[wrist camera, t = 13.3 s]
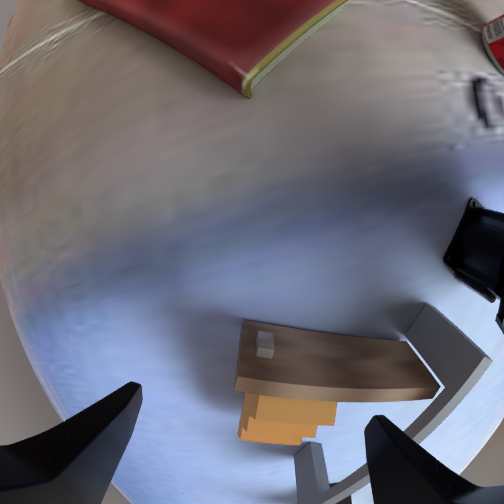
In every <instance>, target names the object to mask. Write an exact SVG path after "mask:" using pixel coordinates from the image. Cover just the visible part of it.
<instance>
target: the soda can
mask: <svg viewBox="0 0 504 504" xmlns="http://www.w3.org/2000/svg"><path fill="white" fill-rule="evenodd" d="M482 40H483V44H484V46H485V49H486V51H487V53H488V55H489V57H490V58H491V60H492V62H493V63H494V64H495V66H496V67H497V68H498V69H499V70H500V71H501V72H502V73H503V74H504V14H503V15H501V16H499V17H497V18H495V19H494V20H492V21H490V22H488V23H486V24H485V25H484V26H483V28H482Z"/></svg>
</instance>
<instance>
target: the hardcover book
mask: <svg viewBox="0 0 504 504" xmlns="http://www.w3.org/2000/svg"><path fill="white" fill-rule="evenodd" d="M78 1H79V2H82V3H84V4H87V5H89V6H92V7H94V8H96V9H99V10H101V11H103V12H106V13H108V14H110V15H112V16H114V17H117V18H119V19H121V20H123V21H125V22H127V23H129V24H131V25H133V26H135V27H137V28H139V29H141V30H143V31H145V32H146V33H148V34H150V35H152V36H154V37H156V38H157V39H159V40H161V41H163V42H164V43H166V44H168V45H170V46H171V47H173V48H175V49H176V50H178V51H180V52H181V53H183V54H185V55H186V56H188V57H189V58H191V59H193V60H194V61H196V62H197V63H199V64H200V65H202V66H203V67H205V68H206V69H208V70H209V71H211V72H212V73H214V74H215V75H217V76H218V77H220V78H221V79H222V80H224V81H225V82H227V83H228V84H229V85H231V86H232V87H234V88H235V89H236V90H238V91H239V92H240V93H242V94H243V95H244V96H246V97H247V98H248V99H250V97H251V96H252V94H251V91H250V90H251V89H252V88H253V87H254V86H255V85H256V84H257V83H258V82H259V81H260V80H261V79H262V78H263V77H264V76H265V75H266V74H267V73H268V72H269V71H270V70H271V69H272V68H273V67H274V66H276V65H277V64H278V63H279V62H280V61H281V60H282V59H283V58H284V57H285V56H287V55H288V54H289V53H290V52H291V51H292V50H293V49H294V48H296V47H297V46H298V45H299V44H300V43H301V42H303V41H304V40H305V39H306V38H307V37H309V36H310V35H311V34H312V33H313V32H315V31H316V30H317V29H318V28H320V27H321V26H322V25H323V24H325V23H326V22H327V21H328V20H330V19H331V18H332V17H334V16H335V15H336V14H338V13H339V12H340V11H342V9H343V7H344V5H345V3H346V1H348V0H78Z"/></svg>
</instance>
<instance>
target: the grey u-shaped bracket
mask: <svg viewBox="0 0 504 504" xmlns="http://www.w3.org/2000/svg"><path fill="white" fill-rule="evenodd" d="M405 336H406V338H407V339H408V340H409V341H410V343H411V344H412V345H413V346H414V348H415V349H416V350H417V351H418V353H419V354H420V355H421V356H422V358H423V359H424V360H425V361H426V363H427V364H428V365H429V367H430V368H431V369H432V371H433V372H434V373H435V375H436V376H437V377H438V379H439V380H440V381H441V383H442V384H443V385H444V387H445V388H444V389H443V391H442V392H441V393H440V394H439V395H438V396H437V398H436V399H435V400H434V401H433V402H432V403H431V404H430V405H429V406H428V407H427V409H426V410H425V411H424V412H423V413H422V414H421V415H420V416H419V417H418V418H417V419H416V420H415V421H414V422H413V423H412V424H411V425H410V426H409V427H408V428H407V429H406V430H405V431H403V432H404V433H405V434H407V435H408V436H409V437H410V438H411V439H413V440H414V441H415V442H416V443H417V444H420V443H421V442H422V441H423V440H424V439H425V438H426V437H427V436H428V435H429V434H431V433H432V432H433V431H434V430H435V429H436V428H437V427H438V426H439V425H440V424H441V423H442V422H443V421H444V420H445V419H446V418H447V417H448V415H449V414H450V413H451V412H452V411H453V410H454V409H455V408H456V407H457V406H458V405H459V403H460V402H461V401H462V400H463V399H464V398H465V396H466V395H467V394H468V393H469V392H470V390H471V389H472V388H473V387H474V386H475V384H476V383H477V382H478V380H479V379H480V378H481V377H482V375H483V374H484V373H485V371H486V370H487V368H488V367H489V366H490V364H491V363H492V360H491V359H490V358H489V357H488V356H487V355H486V354H485V353H484V352H483V351H482V350H481V349H480V348H479V347H478V346H477V345H476V344H475V343H474V342H473V341H472V340H471V339H470V338H469V337H467V336H466V335H465V334H464V333H463V332H462V331H461V330H460V329H459V328H458V327H457V326H455V325H454V324H453V323H452V322H451V321H450V320H449V319H448V318H446V317H445V316H444V315H443V314H442V313H441V312H440V311H438V310H437V309H436V308H434V307H433V306H431V305H429V304H428V303H426V304H425V306H424V307H423V309H422V310H421V312H420V314H419V315H418V317H417V318H416V320H415V321H414V323H413V324H412V326H411V327H410V329H409V330H408V331H407V333H406V334H405ZM294 464H295V475H296V485H297V497H298V504H336V503H337V502H339V501H341V500H343V499H344V498H346V497H348V496H349V495H351V494H353V493H354V492H356V491H357V490H359V489H361V488H362V487H364V486H365V485H367V484H368V483H370V477H369V472H368V466H367V463H366V464H364V465H363V466H362V467H360V468H359V469H358V470H356V471H355V472H354V473H352V474H351V475H349V476H348V477H346V478H345V479H344V480H342V481H341V482H339V483H338V484H336V485H335V486H333V487H331V488H330V486H329V481H328V475H327V470H326V465H325V459H324V454H323V449H322V444H320V443H314V442H309V443H308V444H307V445H306V446H305V447H304V448H303V449H301V450H300V451H299V452H298V453H297V454H295V455H294Z"/></svg>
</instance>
